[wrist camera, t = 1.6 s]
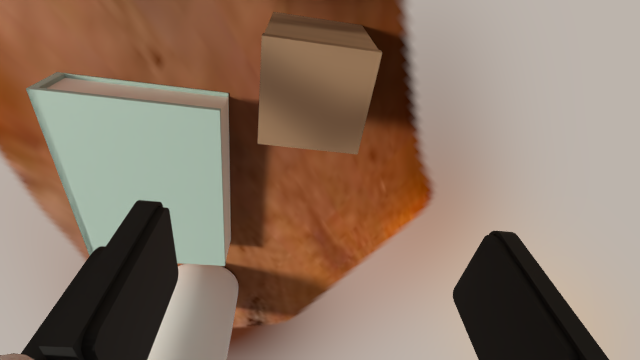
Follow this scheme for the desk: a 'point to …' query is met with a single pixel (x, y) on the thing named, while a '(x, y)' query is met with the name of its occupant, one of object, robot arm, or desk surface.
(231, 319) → the pill bottle
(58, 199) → the desk surface
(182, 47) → the desk surface
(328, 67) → the walnut block
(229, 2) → the desk surface
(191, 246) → the book
